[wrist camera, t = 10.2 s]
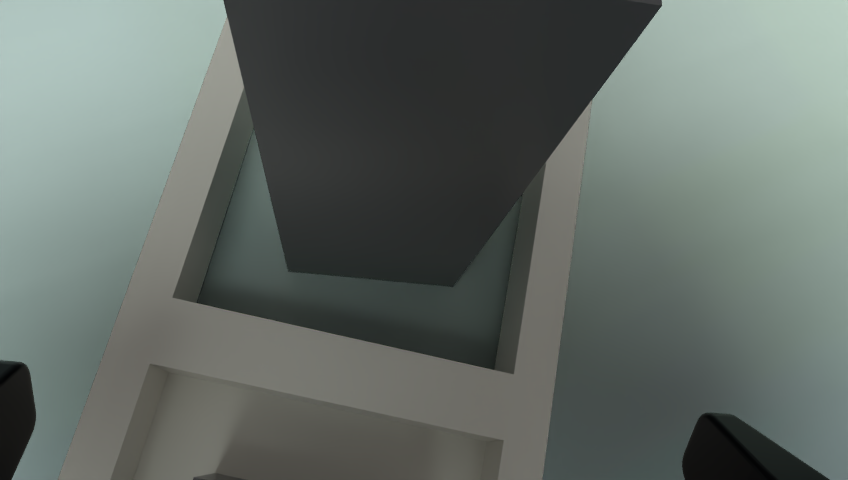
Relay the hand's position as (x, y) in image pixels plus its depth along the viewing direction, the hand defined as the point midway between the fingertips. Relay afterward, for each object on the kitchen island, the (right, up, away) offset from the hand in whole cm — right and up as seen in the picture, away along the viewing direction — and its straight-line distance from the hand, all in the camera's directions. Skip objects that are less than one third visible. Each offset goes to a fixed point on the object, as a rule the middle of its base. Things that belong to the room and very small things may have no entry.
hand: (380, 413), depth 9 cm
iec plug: (-1, +3, +10) cm, 10 cm away
